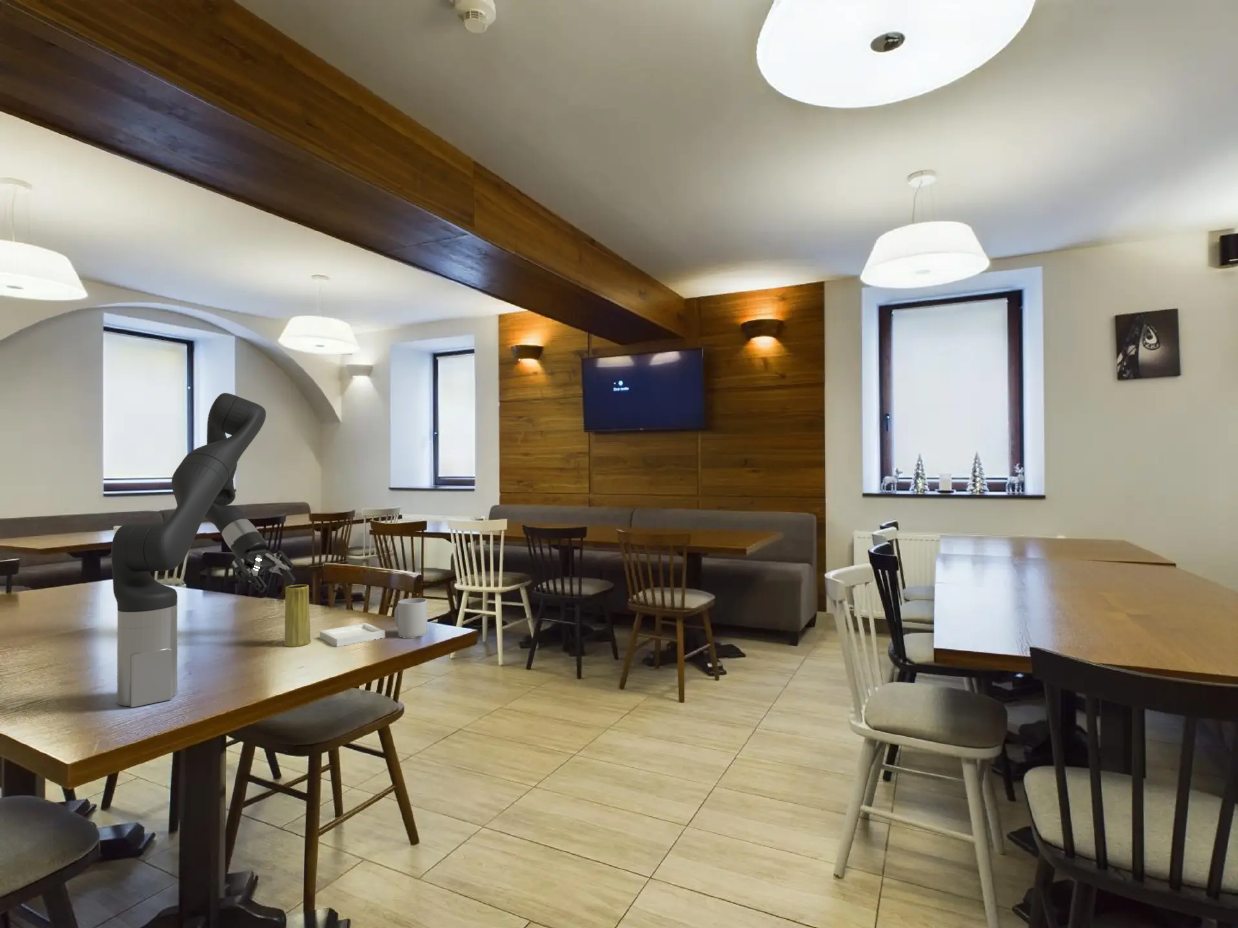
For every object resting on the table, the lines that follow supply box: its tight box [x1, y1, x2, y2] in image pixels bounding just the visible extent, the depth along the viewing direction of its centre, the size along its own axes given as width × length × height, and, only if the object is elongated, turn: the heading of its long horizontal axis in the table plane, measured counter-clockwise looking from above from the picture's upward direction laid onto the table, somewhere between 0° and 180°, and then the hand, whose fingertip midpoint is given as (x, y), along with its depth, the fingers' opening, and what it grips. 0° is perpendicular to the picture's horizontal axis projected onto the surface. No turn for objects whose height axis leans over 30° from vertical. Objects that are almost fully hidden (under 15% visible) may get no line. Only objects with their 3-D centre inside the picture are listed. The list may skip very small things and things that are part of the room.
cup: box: [393, 597, 428, 639], centre depth 169 cm, size 7×10×9 cm
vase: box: [283, 584, 312, 648], centre depth 161 cm, size 6×6×14 cm
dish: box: [319, 622, 386, 648], centre depth 166 cm, size 12×12×2 cm
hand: (278, 586), depth 164 cm, fingers open, 8 cm apart
